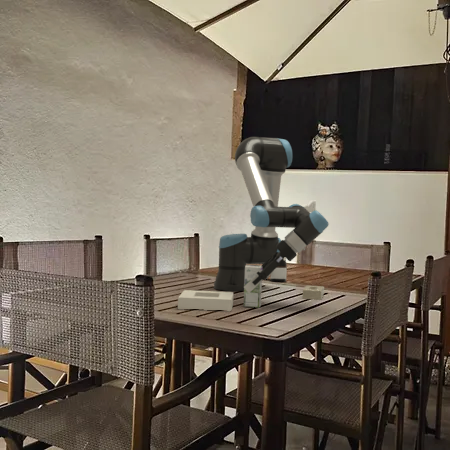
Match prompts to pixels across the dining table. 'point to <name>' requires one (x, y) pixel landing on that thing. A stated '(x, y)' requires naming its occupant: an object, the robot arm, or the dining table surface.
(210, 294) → the holder block
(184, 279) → the dining table surface
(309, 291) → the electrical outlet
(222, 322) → the dining table surface
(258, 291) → the syrup box
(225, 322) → the dining table surface
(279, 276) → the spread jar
